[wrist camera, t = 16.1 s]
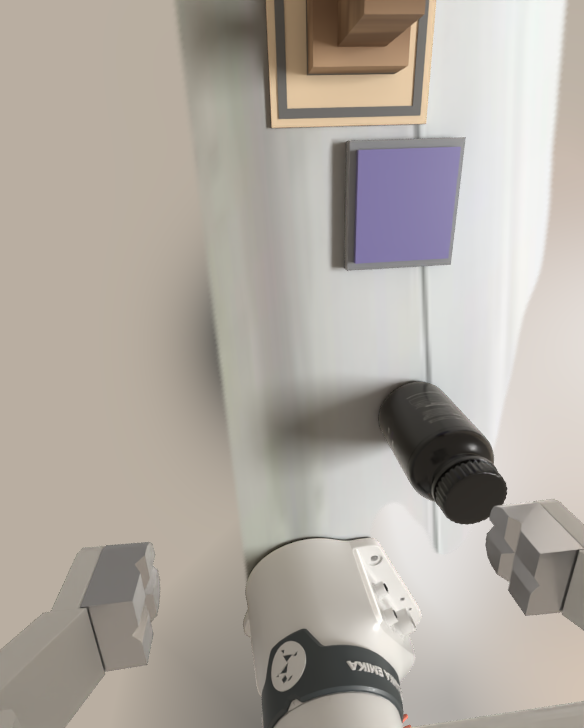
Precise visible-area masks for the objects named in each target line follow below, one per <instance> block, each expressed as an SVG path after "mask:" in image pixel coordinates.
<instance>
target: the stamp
mask: <svg viewBox="0 0 584 728" xmlns="http://www.w3.org/2000/svg"><path fill="white" fill-rule="evenodd" d="M425 3H426V0H306V51H307V75H371V74H396V73H397V72H399V71H400V70H402V69H404V68H405V67H407V66H408V63H409V48H410V32H411V25H412V24H414V23H415V22H416V21H417V20H418V19H420V18H421V17H422V16H423V15H424V14H425Z"/></svg>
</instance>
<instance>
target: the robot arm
mask: <svg viewBox="0 0 584 728" xmlns="http://www.w3.org/2000/svg"><path fill="white" fill-rule="evenodd" d="M490 521H491V522H492V523H493V525H494V526H493V528H492V529H491V530H490V531H489V532H488V533H487V537H486V550H487V556H488V559H489V561H490V563H491V565H492V567H493V568H494V570H495V571H496V573H497V575H499V576H501V577H502V578H504V579H506V580H507V581H509V588H508V591H509V592H510V594H511V595H512V597H513V598H514V600H515V601H516V603H517V604H518V606H519V607H520V608H521V610H522V611H523V613H524V614H525V616H528V615H539V614H549V613H560V612H562V615H563V616H565V617H566V618H567V619H569V620H570V621H571V622H573V623H574V624H576V625H577V626H578V627H580V628H581V629H583V630H584V524H583V523H581V521H579V520H578V519H577V518H576V517H575V516H574V515H573V514H572V513H571V512H570V511H569V510H568V509H567V508H566V507H565V506H564V505H563V504H562V503H561V502H559V501H557V500H555V499H549V500H540V501H534V502H525V503H516V504H509V505H499V506H494V507H493V509H492V510H491V513H490ZM154 558H155V552H154V548H153V544H152V543H150V542H144V543H131V544H118V545H106V546H100V547H87V548H82V549H81V550H80V551H79V552H78V553H77V555H76V557H75V559H74V562H73V564H72V566H71V568H70V570H69V573H68V575H67V577H66V579H65V581H64V584H63V586H62V588H61V590H60V592H59V594H58V597H57V599H56V601H55V603H54V606H53V608H52V610H51V612H47V613H42V615H40V616H39V617H38V618H37V619H35V620H34V621H33V622H32V623H31V624H30V625H29V626H27V627H26V628H25V629H24V630H23V631H22V632H20V634H18V635H17V636H16V637H15V638H14V639H12V640H11V641H10V642H9V643H8V644H6V645H5V646H4V647H3V648H2V649H1V650H0V728H65V727H66V726H67V724H68V723H69V722H70V720H71V719H72V718H73V716H74V715H75V714H76V712H77V711H78V710H79V708H80V707H81V706H82V704H83V703H84V702H85V700H86V699H87V698H88V696H89V695H90V694H91V692H92V691H93V690H94V688H95V687H96V686H97V684H98V683H99V682H100V680H101V679H102V678H103V676H104V675H105V671H112V670H118V669H125V668H131V667H137V666H143V665H147V663H148V658H149V653H150V648H151V643H152V639H153V631H152V626H151V622H152V620H153V619H154V618H155V617H156V616H157V612H158V607H159V599H160V579H159V573H158V570H157V569H156V568H155V567H154V566H153V562H154ZM246 600H247V605H248V610H247V612H246V615H245V618H244V621H243V626H244V632H245V634H246V635H247V636H249V637H251V644H252V653H253V660H254V668H255V675H256V683H257V689H258V692H259V694H260V695H261V696H262V714H261V716H262V727H263V728H584V701H581V702H575V703H568V704H561V705H555V706H548V707H542V708H535V709H528V710H522V711H515V712H509V713H502V714H495V715H489V716H482V717H475V718H469V719H462V720H456V721H449V722H443V723H436V724H429V725H423V726H416V727H411V725H408V726H405V727H403V725H402V723H403V722H404V721H405V720H406V719H407V718H408V715H407V714H404V715H403V705H402V701H403V696H402V691H401V688H400V683H401V682H402V680H403V679H404V678H405V676H406V675H407V674H408V673H409V671H410V670H411V668H412V667H413V665H414V662H415V651H414V648H413V645H412V642H411V639H410V636H409V634H411V633H413V632H415V630H416V626H417V625H418V623H419V621H420V620H421V618H422V615H421V611H420V608H419V606H418V605H417V603H416V602H415V600H414V598H413V596H412V595H411V593H410V592H409V590H408V588H407V587H406V585H405V583H404V582H403V580H402V579H401V577H400V575H399V574H398V572H397V570H396V569H395V567H394V566H393V564H392V562H391V561H390V559H389V558H388V556H387V554H386V553H385V551H384V549H383V548H382V546H381V545H380V543H379V541H378V540H376V539H374V538H362V539H356V540H351V541H341V540H334V539H325V538H316V539H306V540H301V541H297V542H293V543H290V544H287V545H285V546H283V547H280V548H278V549H276V550H275V551H273V552H271V553H270V554H268V555H267V556H266V557H264V558H263V559H262V560H261V561H260V562H259V563H258V564H257V565H256V566H255V568H254V569H253V570H252V572H251V574H250V576H249V578H248V580H247V584H246Z"/></svg>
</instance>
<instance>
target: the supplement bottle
mask: <svg viewBox="0 0 584 728" xmlns="http://www.w3.org/2000/svg"><path fill="white" fill-rule="evenodd" d="M379 426H380V429H381V431H382V433H383V435H384V437H385V439H386V441H387V442H388V444H389V446H390V448H391V450H392V451H393V453H394V455H395V457H396V458H397V460H398V462H399V464H400V466H401V467H402V469H403V471H404V473H405V475H406V476H407V478H408V480H409V482H410V483H411V485H412V486H413V488H414V489H415V490H416V491H417V492H418V493H419V494H420V495H421V496H423V497H425V498H427V499H429V500H431V501H435V502H436V503H437V505H438V506H439V507H440V508H441V510H442V511H443V513H444V514H445V516H446V517H447V518H449V519H450V520H451V521H454V522H455V523H460V524H474V523H477V522H480V521H482V520H485V519H487V518H488V517H490V513H491V510H492V509H493V507H494V506H499V505H502V504H503V503H504V500H505V499H506V495H507V487H506V483H505V481H504V479H503V477H502V476H501V475H500V474H499V473H498V471H497V469H496V467H495V466H494V454H493V450H492V447H491V445H490V443H489V441H488V440H487V439H486V437H485V436H484V435H483V434H482V433H481V432H480V431H479V430H478V429H477V428H476V427H475V425H474V424H473V423H472V422H471V421H470V420H469V419H468V418H467V417H466V416H465V415H464V414H463V413H462V411H461V410H460V409H459V408H458V407H457V406H456V405H455V404H454V403H453V402H452V401H451V400H450V399H449V397H448V396H447V395H446V394H445V393H444V392H443V391H442V390H440V389H439V388H438V387H436V386H435V385H432V384H430V383H426V382H412V383H408V384H405V385H403V386H400V387H399V388H397V389H395V390H394V391H393V392H392V393H390V394H389V395H388V397H387V398H386V399H385V400H384V402H383V404H382V406H381V408H380V411H379Z"/></svg>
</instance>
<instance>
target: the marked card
mask: <svg viewBox="0 0 584 728" xmlns="http://www.w3.org/2000/svg"><path fill="white" fill-rule="evenodd" d="M435 9H436V0H426V3H425V14H424V15H423V16H422V17H421V18H420V19H418V20H417V21H416V22H415V23H414V24H412V25H411V32H410V48H409V63H408V66H407V67H405V68H404V69H402V70H400V71H399V72H397V73H396V74H371V75H307V51H306V0H266V18H267V40H268V62H269V84H270V105H271V127H272V128H290V127H327V126H364V125H402V124H426V118H427V106H428V94H429V82H430V70H431V57H432V45H433V33H434V21H435Z"/></svg>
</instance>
